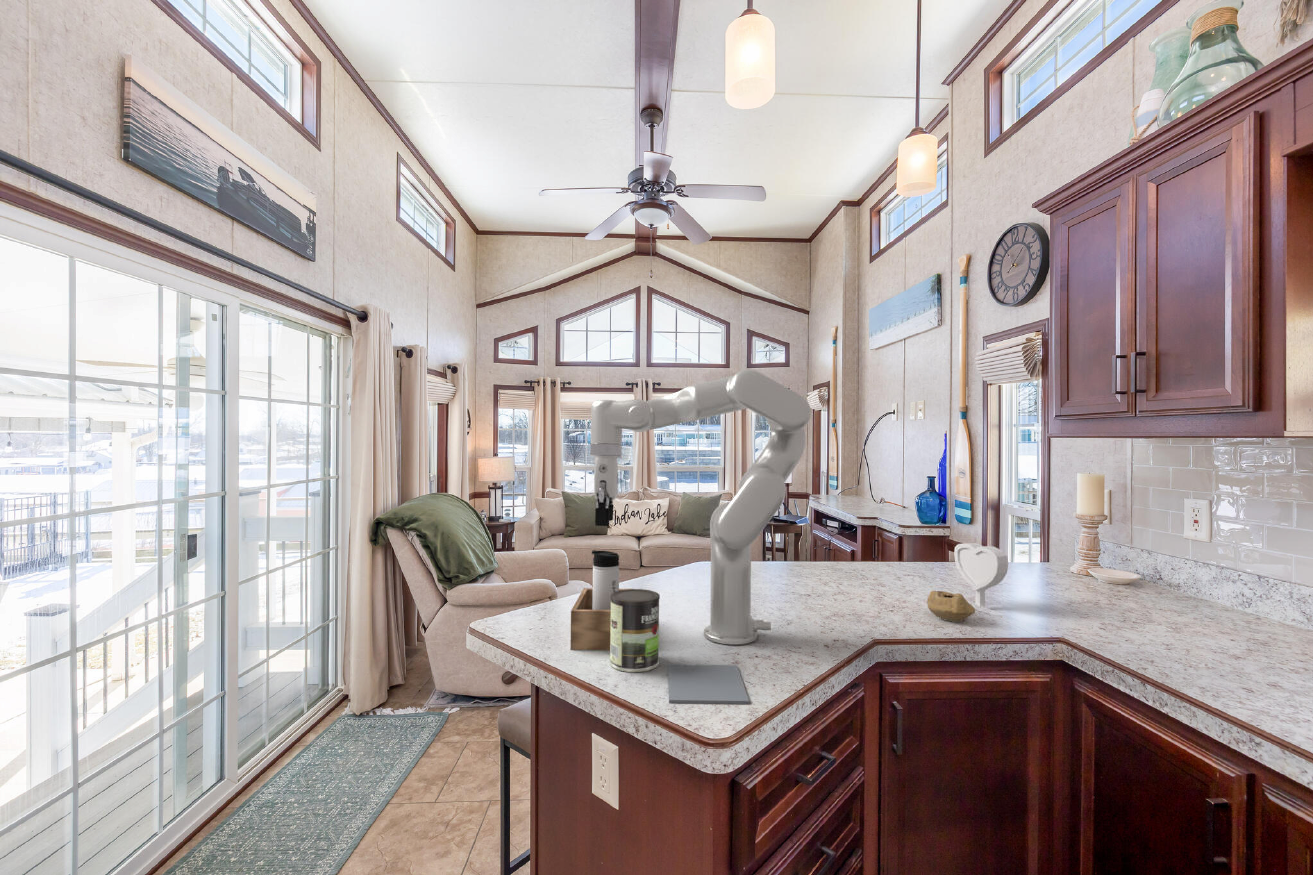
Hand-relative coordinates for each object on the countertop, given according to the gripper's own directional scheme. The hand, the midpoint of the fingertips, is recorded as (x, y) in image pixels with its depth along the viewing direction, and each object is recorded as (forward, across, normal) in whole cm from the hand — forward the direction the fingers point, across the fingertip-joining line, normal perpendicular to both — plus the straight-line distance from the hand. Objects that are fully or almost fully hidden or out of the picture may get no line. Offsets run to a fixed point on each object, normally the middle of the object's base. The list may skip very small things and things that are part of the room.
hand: (604, 522), depth 132 cm
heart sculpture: (+26, +26, -105) cm, 111 cm away
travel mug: (+27, 0, -1) cm, 27 cm away
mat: (+26, -27, -23) cm, 44 cm away
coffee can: (+27, -17, -9) cm, 33 cm away
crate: (+27, 0, -1) cm, 27 cm away
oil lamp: (+26, +17, -91) cm, 96 cm away
